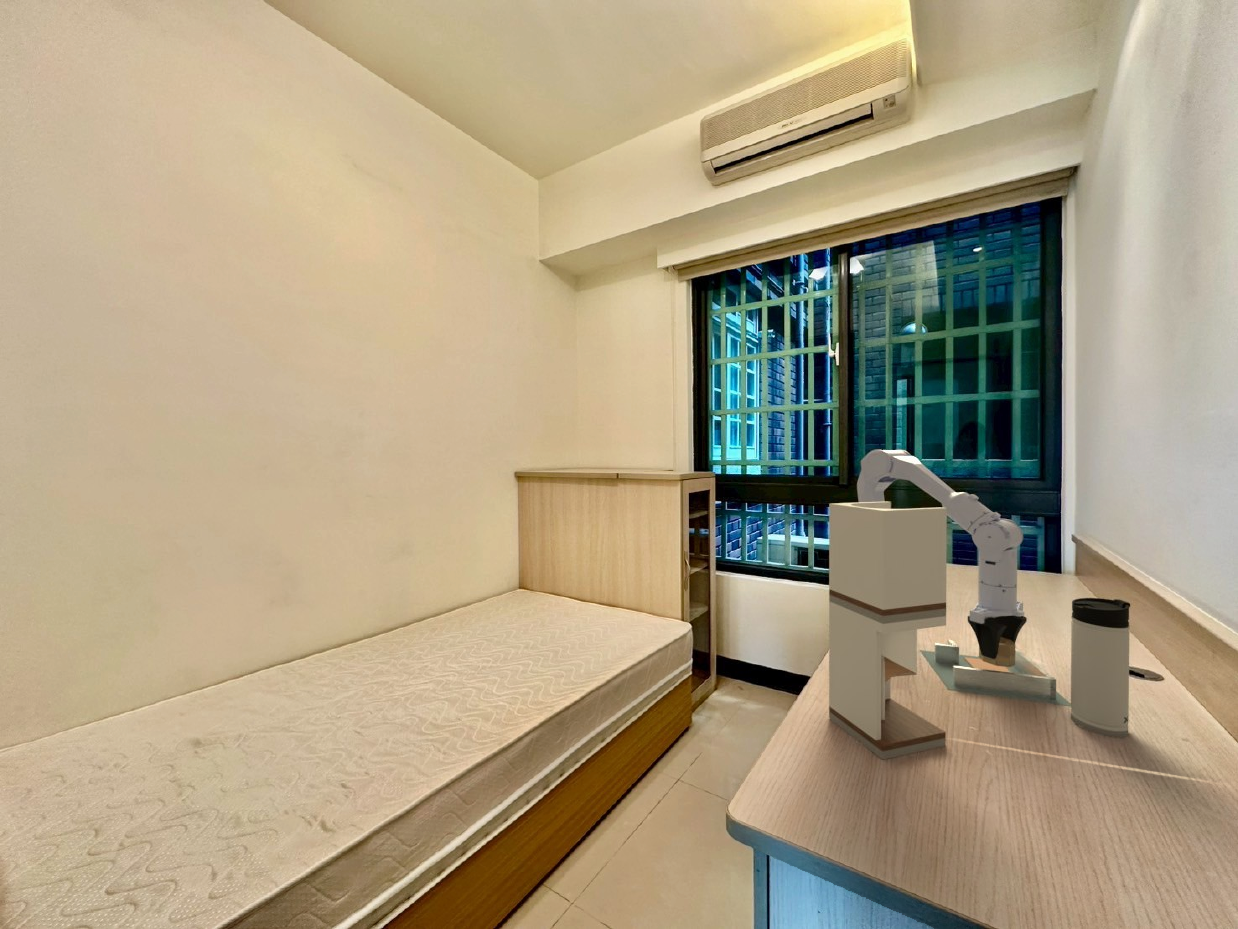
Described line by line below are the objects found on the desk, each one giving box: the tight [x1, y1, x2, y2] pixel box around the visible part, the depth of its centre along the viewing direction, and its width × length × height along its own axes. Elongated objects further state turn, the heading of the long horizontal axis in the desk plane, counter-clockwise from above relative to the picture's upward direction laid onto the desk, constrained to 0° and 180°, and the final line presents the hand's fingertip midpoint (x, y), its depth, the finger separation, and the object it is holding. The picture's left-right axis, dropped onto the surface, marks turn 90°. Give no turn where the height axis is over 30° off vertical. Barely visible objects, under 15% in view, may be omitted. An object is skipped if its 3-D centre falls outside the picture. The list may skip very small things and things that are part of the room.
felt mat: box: [919, 649, 1071, 707], centre depth 89 cm, size 18×18×1 cm
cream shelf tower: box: [828, 500, 948, 760], centre depth 71 cm, size 11×11×35 cm
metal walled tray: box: [934, 639, 1057, 700], centre depth 89 cm, size 15×15×4 cm
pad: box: [964, 657, 1011, 673], centre depth 92 cm, size 6×6×1 cm
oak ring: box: [978, 637, 1016, 667], centre depth 88 cm, size 5×5×4 cm
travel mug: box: [1070, 597, 1131, 739], centre depth 72 cm, size 6×7×20 cm
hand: (996, 654), depth 88 cm, fingers closed on oak ring, 5 cm apart
